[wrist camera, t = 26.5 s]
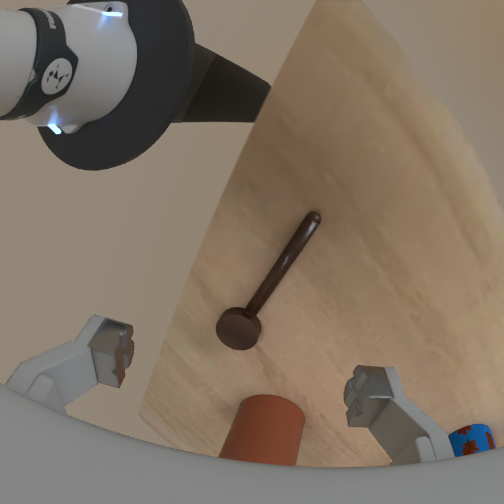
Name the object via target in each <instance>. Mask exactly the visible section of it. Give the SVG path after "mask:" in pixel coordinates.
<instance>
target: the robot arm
mask: <svg viewBox="0 0 504 504" xmlns="http://www.w3.org/2000/svg"><path fill="white" fill-rule="evenodd" d="M111 9H112V10H111ZM110 11H111V12H110ZM136 63H137V45H136V40H135V37H134V34H133V32H132V30H131V28H130V26H129V23H128V6H127V4H126V3H124V2H119V1H113V2H92V3H79V4H69V5H61V6H55V7H53V8H52V9H51V10H44V9H40V8H22V9H19V10H10V9H1V8H0V120H18V119H21V118H25V120H27V122H29V123H30V125H31V126H36V127H38V126H49V127H50V128H51V129H52V130H53V131H54V132H55V133H56V134H59V133H61V130H60V129H59V128H58V127H57V126H59V127H60V128H61V129H62V130H63V131H64V132H65V133H67V134H73V133H75V132H77V131H78V130H79V129H80V128H81V127H82V126H83V125H84V124H85V123H87V122H90V121H94V120H97V119H100V118H102V117H104V116H105V115H107V114H108V113H110V112H111V111H112V110H113V109H114V108H115V107H116V106H117V105H118V104H119V103H120V101H121V100H122V99H123V97H124V96H125V94H126V92H127V90H128V89H129V86H130V84H131V82H132V79H133V76H134V73H135V69H136ZM132 335H133V326H132V325H129V324H126V323H123V322H119V321H116V320H113V319H109V318H105V317H102V316H99V315H96V314H95V315H93V316H91V318H90V319H89V320H88V322H87V323H86V325H85V326H84V328H83V329H82V330H81V332H80V333H79V335H78V337H77V338H76V339H75V341H74V342H73V341H69V342H66V343H64V344H62V345H60V346H57V347H55V348H53V349H51V350H48V351H46V352H44V353H42V354H39V355H37V356H35V357H33V358H30V359H28V360H26V361H23V362H21V363H20V364H19V365H18V367H17V368H16V369H15V371H14V372H13V374H12V375H11V376H10V378H9V379H8V381H7V382H6V384H5V385H3V384H1V383H0V504H504V446H503V447H500V448H496V449H492V450H488V451H483V452H479V453H474V454H470V455H465V456H460V457H455V455H454V452H453V449H452V446H451V443H450V440H449V437H448V435H447V433H446V432H445V431H444V430H443V429H442V428H440V427H439V426H438V425H437V424H436V423H435V422H434V421H433V420H432V419H431V418H429V417H428V416H427V415H426V414H425V413H424V412H423V411H422V410H421V409H420V408H419V407H417V406H416V405H415V404H414V403H413V402H412V401H411V400H410V399H406V397H405V394H404V391H403V388H402V386H401V383H400V380H399V377H398V374H397V372H396V369H395V368H394V367H376V366H364V365H358V366H357V367H355V369H354V371H353V375H354V377H352V378H351V379H349V380H348V382H347V384H346V385H345V389H344V403H345V404H346V406H347V407H348V408H349V409H348V410H347V412H346V416H347V421H348V427H367V428H368V429H369V430H370V432H371V433H372V434H373V435H374V437H375V438H376V439H377V441H378V442H379V443H380V445H381V446H382V447H383V449H384V450H385V451H386V453H387V454H388V455H389V456H390V458H391V459H392V460H393V461H392V462H391V463H390V464H389V465H388V466H374V467H303V466H287V465H274V464H264V463H255V462H247V461H239V460H232V459H226V458H220V457H214V456H208V455H203V454H198V453H193V452H188V451H183V450H179V449H174V448H170V447H166V446H162V445H158V444H154V443H150V442H147V441H143V440H140V439H136V438H133V437H129V436H126V435H123V434H120V433H116V432H113V431H110V430H107V429H104V428H102V427H99V426H96V425H93V424H90V423H87V422H85V421H82V420H79V419H77V418H74V417H72V416H69V415H67V413H66V410H65V408H64V406H66V405H67V404H69V403H70V402H72V401H73V400H74V399H76V398H77V397H79V396H80V395H82V394H83V393H85V392H86V391H88V390H89V389H91V388H92V387H94V386H95V385H97V384H98V383H102V384H105V385H109V386H112V387H116V388H120V386H121V384H122V381H123V379H124V377H125V369H126V368H128V367H129V366H130V364H131V362H132V358H133V354H134V342H133V341H132V339H131V337H132Z"/></svg>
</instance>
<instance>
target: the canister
mask: <svg viewBox="0 0 504 504" xmlns="http://www.w3.org/2000/svg"><path fill="white" fill-rule="evenodd" d="M304 423H305V417H304V414H303V412H302V411H301V410H300V408H299V407H298V406H297V405H295V404H294V403H292V402H290V401H289V400H286V399H284V398H281V397H278V396H273V395H255V396H251V397H249V398H247V399H245V400H244V401H243V402H242V403H241V404H240V406H239V408H238V411H237V413H236V416H235V418H234V421H233V423H232V425H231V428H230V430H229V433H228V435H227V437H226V440H225V442H224V444H223V447H222V449H221V451H220V454H219V456H218V457H220V458H226V459H232V460H239V461H247V462H255V463H264V464H274V465H287V466H295V465H296V461H297V456H298V452H299V447H300V443H301V438H302V433H303V428H304Z"/></svg>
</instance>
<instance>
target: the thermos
mask: <svg viewBox="0 0 504 504" xmlns="http://www.w3.org/2000/svg"><path fill="white" fill-rule="evenodd" d="M448 437H449V440H450V443H451V446H452V449H453V452H454V455H455V457H460V456H465V455H470V454H474V453H479V452H483V451H488V450H492V449H496V446H495V443H494V440H493V437H492V434H491V431H490V429H489V428H488V426H486V425H483V424H474V425H470V426H466V427H463V428H461V429H459V430H457V431H455V432H453V433H452V434H450V435H449V436H448Z"/></svg>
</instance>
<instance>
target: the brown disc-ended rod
mask: <svg viewBox="0 0 504 504" xmlns="http://www.w3.org/2000/svg"><path fill="white" fill-rule="evenodd" d="M320 222H321V216H320V214H319V213H317V212H310V213H309V214H308V215H307V216H306V218H305V219H304V221H303V222H302V224H301V225H300V227H299V228H298V230H297V231H296V233H295V234H294V236H293V238H292V239H291V241H290V242H289V244H288V245H287V247H286V248H285V250H284V251H283V253H282V254H281V256H280V257H279V259H278V260H277V262H276V263H275V265H274V266H273V268H272V269H271V271H270V272H269V274H268V275H267V277H266V278H265V280H264V281H263V283H262V284H261V286H260V287H259V289H258V290H257V292H256V293H255V295H254V296H253V298H252V299H251V301H250V302H249V304H248V305H247V307H246V308H245V309H243V308H231V309H228V310H226V311H225V312H224V313H223V314H222V316H221V317H220V319H219V320H218V322H217V324H216V333H217V336H218V338H219V339H220V340H221V342H222V343H224V344H225V345H226V346H228V347H230V348H232V349H235V350H247V349H250V348H252V347H253V346H254V345H255V344H256V342H257V340H258V338H259V335H260V333H261V325H260V322H259V320H258V318H257V317H256V315H257V313H258V312H259V311H260V309H261V308H262V306H263V305H264V304H265V302H266V301H267V299H268V298H269V297H270V295H271V294H272V292H273V291H274V289H275V288H276V287H277V285H278V284H279V282H280V281H281V280H282V278H283V277H284V275H285V274H286V272H287V271H288V269H289V268H290V267H291V265H292V264H293V262H294V261H295V259H296V258H297V256H298V255H299V254H300V252H301V251H302V249H303V248H304V246H305V245H306V243H307V242H308V240H309V239H310V237H311V236H312V234H313V233H314V231H315V230H316V229H317V227H318V226H319V224H320Z"/></svg>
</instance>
